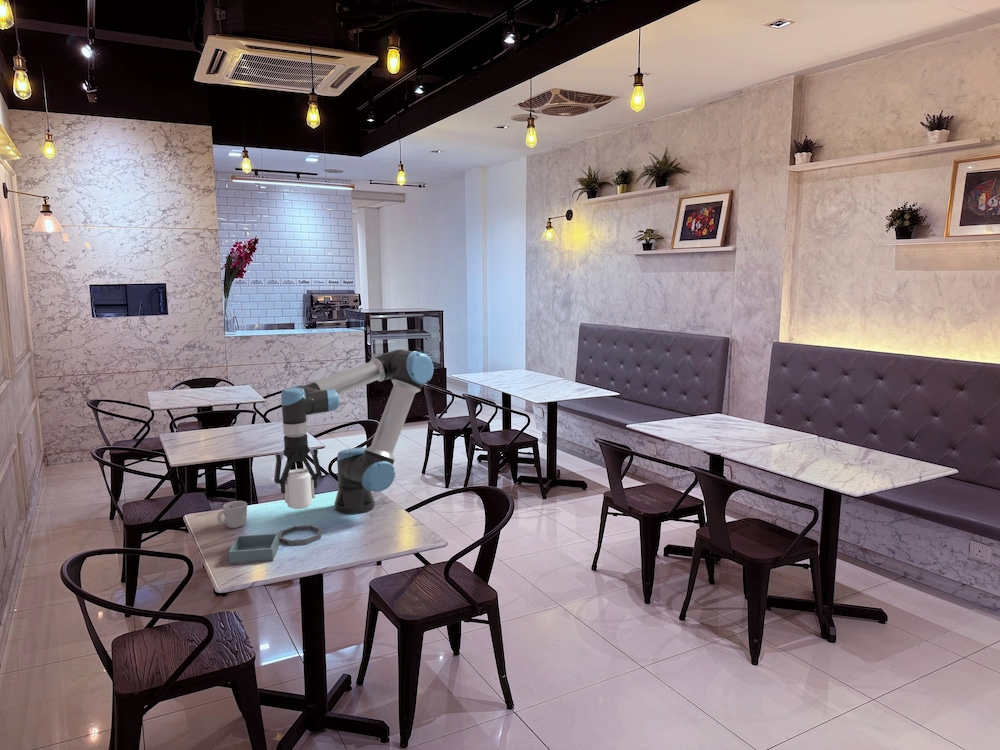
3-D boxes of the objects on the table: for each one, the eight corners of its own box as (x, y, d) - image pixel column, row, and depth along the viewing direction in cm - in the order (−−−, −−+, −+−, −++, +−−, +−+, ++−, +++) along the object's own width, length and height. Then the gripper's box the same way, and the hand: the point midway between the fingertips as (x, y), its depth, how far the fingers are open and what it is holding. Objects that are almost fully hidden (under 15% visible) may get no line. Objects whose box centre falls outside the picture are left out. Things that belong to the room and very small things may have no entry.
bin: (279, 545, 222) (278, 533, 221) (272, 561, 209) (272, 549, 208) (238, 547, 219) (237, 536, 219) (229, 564, 207) (228, 551, 206)
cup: (224, 534, 231) (223, 511, 230) (212, 528, 236) (211, 507, 235) (252, 524, 240) (251, 503, 239) (240, 520, 245) (239, 499, 243)
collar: (323, 528, 236) (323, 524, 236) (319, 543, 223) (319, 539, 223) (282, 530, 234) (282, 526, 234) (275, 546, 220) (275, 542, 220)
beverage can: (286, 510, 223) (283, 476, 221) (289, 502, 230) (287, 469, 229) (311, 509, 224) (309, 474, 222) (313, 501, 232) (311, 467, 230)
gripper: (323, 428, 232) (327, 491, 235) (260, 436, 221) (265, 502, 225) (329, 432, 225) (333, 497, 229) (265, 441, 215) (270, 508, 218)
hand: (299, 499), depth 227 cm, fingers closed on beverage can, 8 cm apart
